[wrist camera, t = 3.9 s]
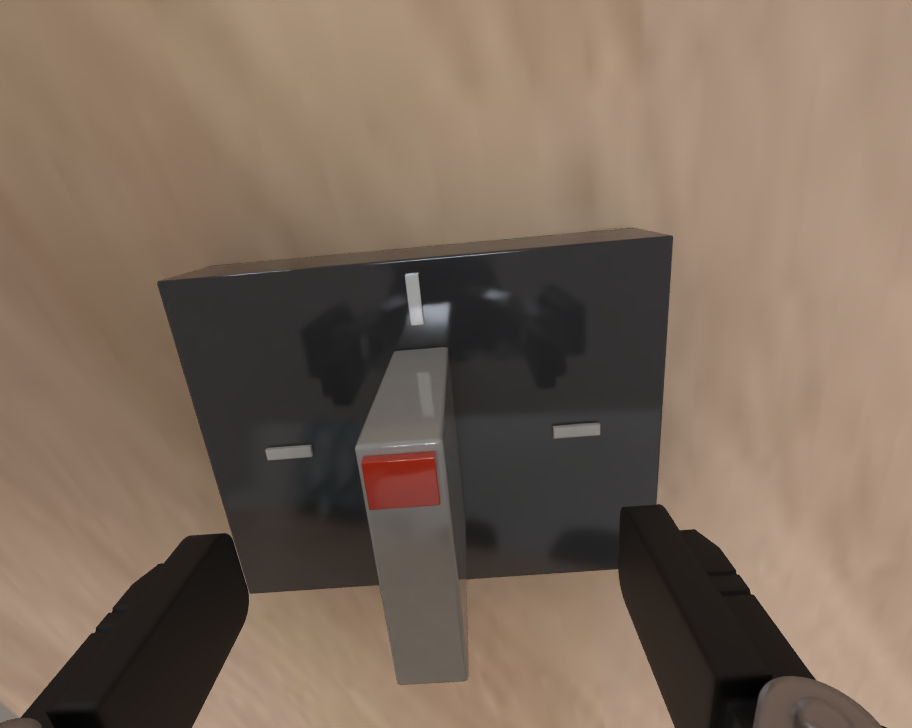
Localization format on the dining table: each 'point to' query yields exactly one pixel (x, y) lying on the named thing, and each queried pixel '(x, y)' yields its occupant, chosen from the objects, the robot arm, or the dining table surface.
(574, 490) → the dark grey base plate
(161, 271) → the dining table surface
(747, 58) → the dining table surface
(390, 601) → the knob
